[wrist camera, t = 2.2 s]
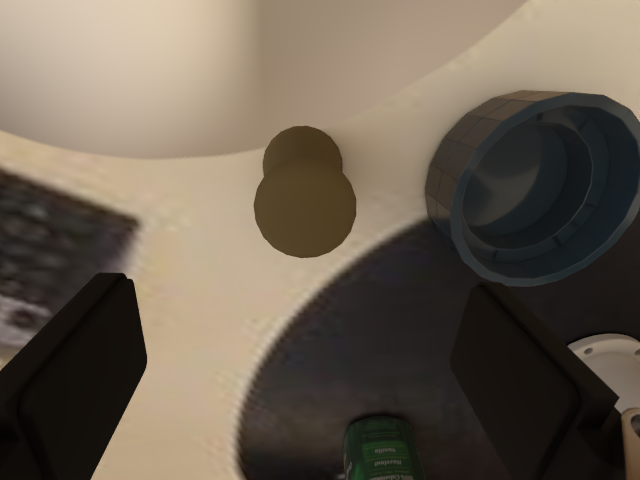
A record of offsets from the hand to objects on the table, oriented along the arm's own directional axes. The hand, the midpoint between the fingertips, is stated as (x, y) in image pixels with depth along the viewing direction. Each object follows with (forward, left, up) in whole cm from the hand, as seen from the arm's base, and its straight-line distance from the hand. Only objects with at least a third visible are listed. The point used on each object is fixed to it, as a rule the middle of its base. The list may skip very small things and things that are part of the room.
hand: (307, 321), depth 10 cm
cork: (0, 0, -18) cm, 18 cm away
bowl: (-16, 0, -18) cm, 24 cm away
